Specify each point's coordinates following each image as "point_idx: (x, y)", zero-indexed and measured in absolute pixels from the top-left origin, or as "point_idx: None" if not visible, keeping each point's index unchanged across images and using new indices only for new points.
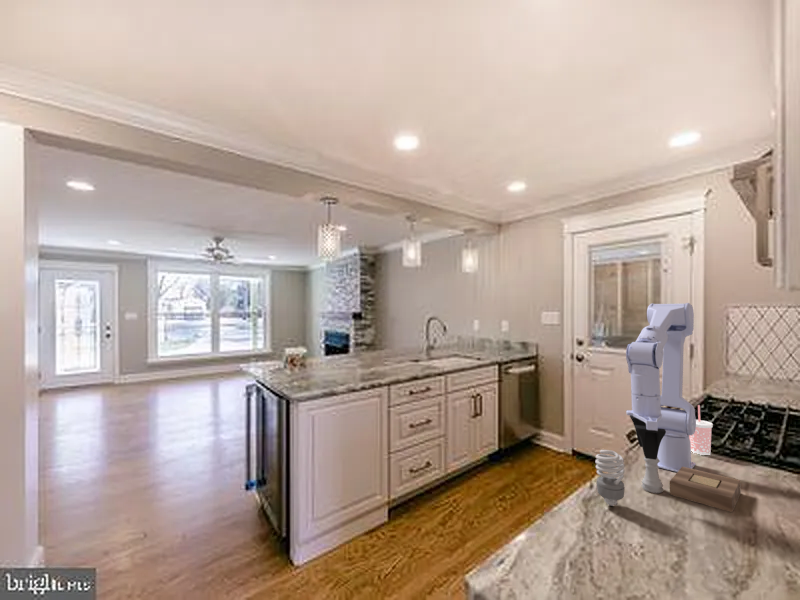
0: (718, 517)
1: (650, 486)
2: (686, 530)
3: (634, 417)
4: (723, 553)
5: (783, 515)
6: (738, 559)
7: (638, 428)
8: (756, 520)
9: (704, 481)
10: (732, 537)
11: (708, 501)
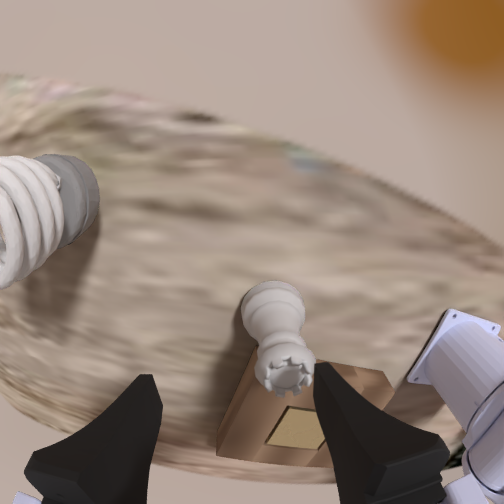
0: (174, 410)
1: (244, 310)
2: (70, 346)
3: (379, 482)
4: (38, 377)
5: (251, 475)
6: (38, 389)
7: (25, 470)
8: (203, 450)
9: (298, 430)
10: (101, 407)
11: (228, 413)
